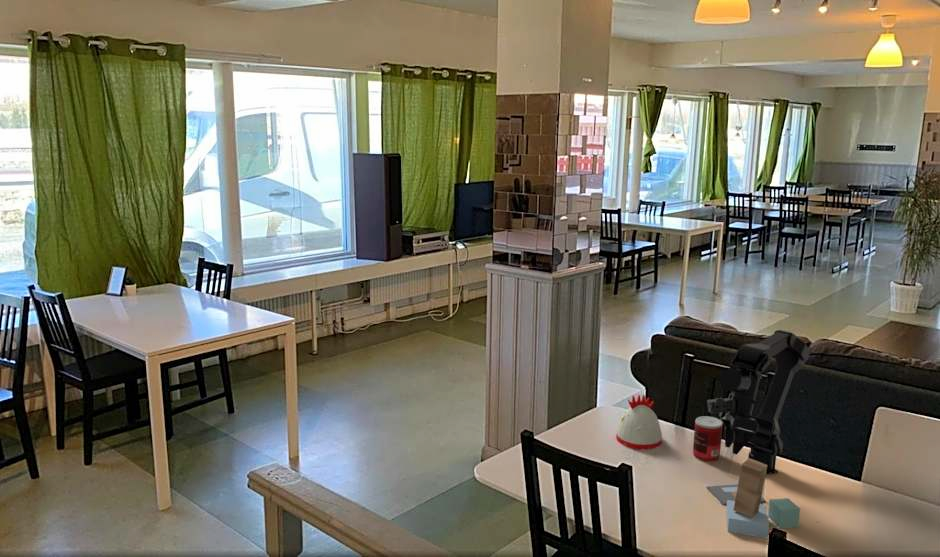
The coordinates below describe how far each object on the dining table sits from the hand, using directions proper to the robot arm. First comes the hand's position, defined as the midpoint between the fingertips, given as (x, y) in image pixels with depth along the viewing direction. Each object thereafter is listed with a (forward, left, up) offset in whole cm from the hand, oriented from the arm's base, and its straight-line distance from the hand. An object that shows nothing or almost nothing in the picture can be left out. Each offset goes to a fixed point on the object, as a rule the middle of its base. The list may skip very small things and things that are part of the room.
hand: (730, 450), depth 186 cm
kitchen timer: (+11, -34, -12) cm, 38 cm away
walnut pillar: (+3, +16, -8) cm, 18 cm away
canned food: (-5, -21, -12) cm, 25 cm away
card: (-2, +2, -12) cm, 12 cm away
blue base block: (+3, +16, -12) cm, 20 cm away
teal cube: (-7, +16, -12) cm, 21 cm away
